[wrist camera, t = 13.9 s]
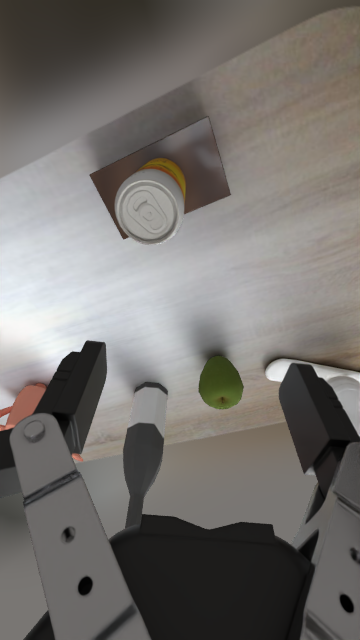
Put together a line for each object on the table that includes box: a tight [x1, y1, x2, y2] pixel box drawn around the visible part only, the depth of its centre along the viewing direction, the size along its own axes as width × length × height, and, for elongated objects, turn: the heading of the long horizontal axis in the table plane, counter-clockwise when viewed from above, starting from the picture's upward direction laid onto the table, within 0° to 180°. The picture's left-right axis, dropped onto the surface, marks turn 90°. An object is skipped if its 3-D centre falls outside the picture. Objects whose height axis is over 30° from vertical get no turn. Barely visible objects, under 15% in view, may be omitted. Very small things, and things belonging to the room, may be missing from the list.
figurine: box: [265, 359, 360, 437], centre depth 54 cm, size 26×13×17 cm, turn 77°
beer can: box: [115, 158, 186, 245], centre depth 30 cm, size 6×6×15 cm
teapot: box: [0, 383, 83, 461], centre depth 63 cm, size 17×16×13 cm
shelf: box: [90, 116, 231, 239], centre depth 38 cm, size 16×9×5 cm, turn 112°
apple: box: [199, 355, 244, 409], centre depth 55 cm, size 9×8×12 cm
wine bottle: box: [123, 382, 168, 528], centre depth 54 cm, size 8×8×30 cm
